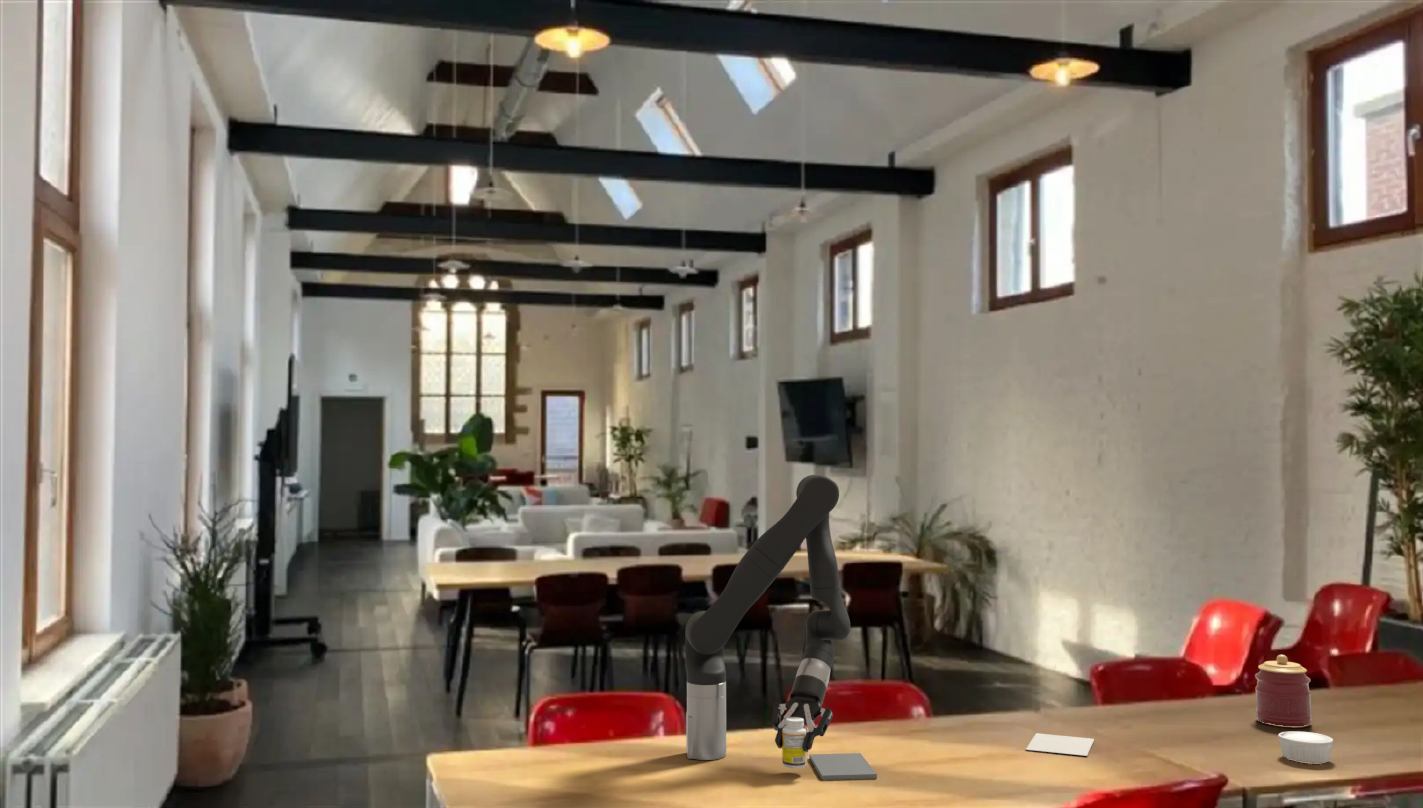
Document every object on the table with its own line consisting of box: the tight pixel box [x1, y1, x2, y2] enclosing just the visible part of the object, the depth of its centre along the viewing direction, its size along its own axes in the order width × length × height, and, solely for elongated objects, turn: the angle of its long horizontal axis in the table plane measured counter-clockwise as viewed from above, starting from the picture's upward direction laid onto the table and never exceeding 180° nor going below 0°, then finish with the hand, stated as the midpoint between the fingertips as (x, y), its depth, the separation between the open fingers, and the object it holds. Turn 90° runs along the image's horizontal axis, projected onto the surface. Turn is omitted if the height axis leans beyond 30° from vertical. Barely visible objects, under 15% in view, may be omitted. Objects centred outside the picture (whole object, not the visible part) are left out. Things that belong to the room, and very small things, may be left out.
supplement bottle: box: [781, 717, 808, 769], centre depth 245 cm, size 6×6×10 cm
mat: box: [808, 752, 878, 781], centre depth 249 cm, size 12×17×1 cm
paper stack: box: [1025, 732, 1095, 757], centre depth 262 cm, size 23×25×1 cm
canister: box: [1254, 654, 1313, 726], centre depth 290 cm, size 13×13×18 cm
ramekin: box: [1277, 730, 1334, 763], centre depth 255 cm, size 11×11×5 cm
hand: (792, 747), depth 244 cm, fingers closed on supplement bottle, 5 cm apart
